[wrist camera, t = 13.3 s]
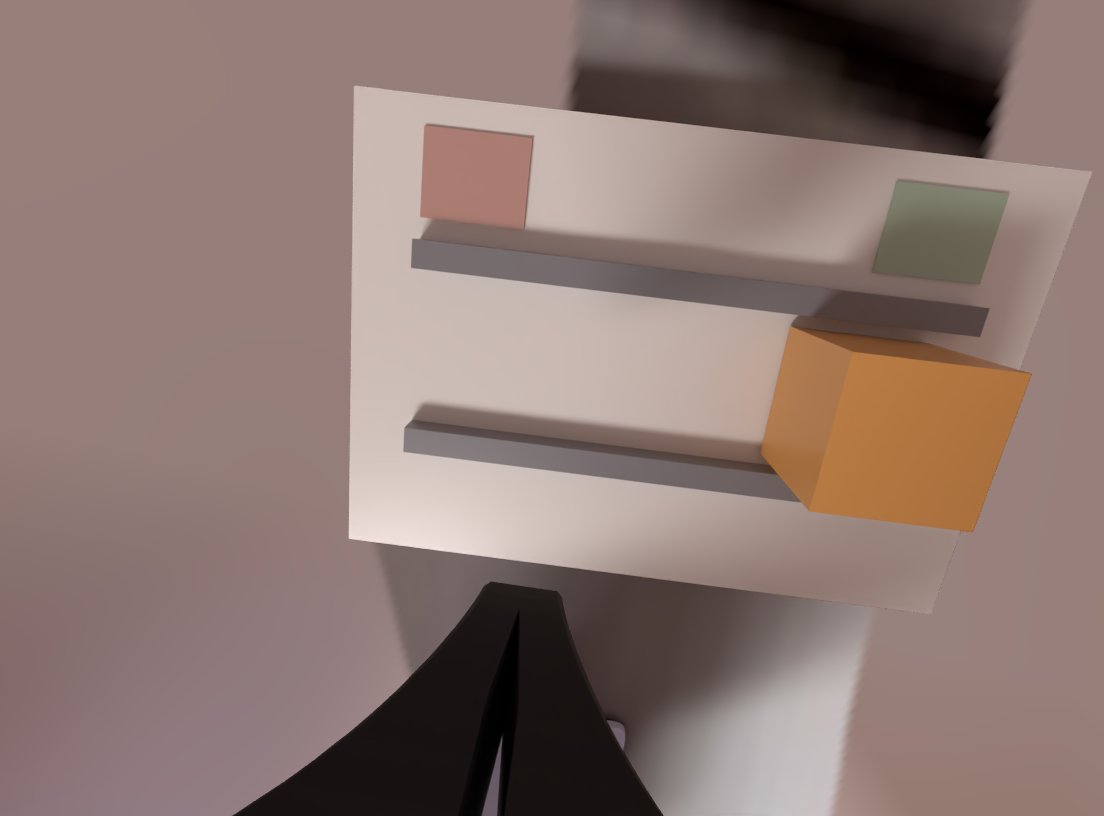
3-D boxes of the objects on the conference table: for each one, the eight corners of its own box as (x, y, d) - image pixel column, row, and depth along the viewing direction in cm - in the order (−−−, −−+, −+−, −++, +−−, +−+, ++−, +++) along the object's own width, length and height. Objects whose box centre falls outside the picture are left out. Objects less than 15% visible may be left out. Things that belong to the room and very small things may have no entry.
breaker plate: (898, 580, 21) (945, 630, 18) (369, 511, 21) (339, 550, 19) (1034, 179, 17) (1120, 167, 14) (379, 103, 17) (341, 77, 15)
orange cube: (887, 469, 18) (972, 532, 14) (759, 452, 18) (809, 511, 14) (926, 342, 16) (1032, 373, 13) (790, 326, 16) (852, 352, 13)
